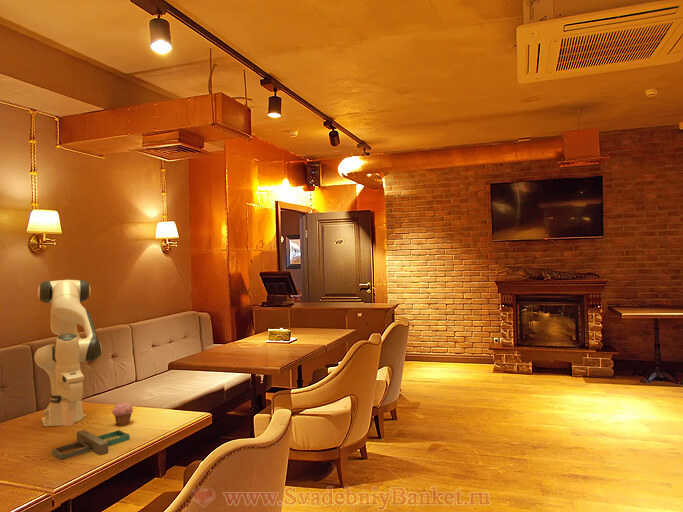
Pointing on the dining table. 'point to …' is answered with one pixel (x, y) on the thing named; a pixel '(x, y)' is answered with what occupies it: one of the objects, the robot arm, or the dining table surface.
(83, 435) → the door edge
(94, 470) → the dining table surface
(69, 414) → the smoothie
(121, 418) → the cupcake
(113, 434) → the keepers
